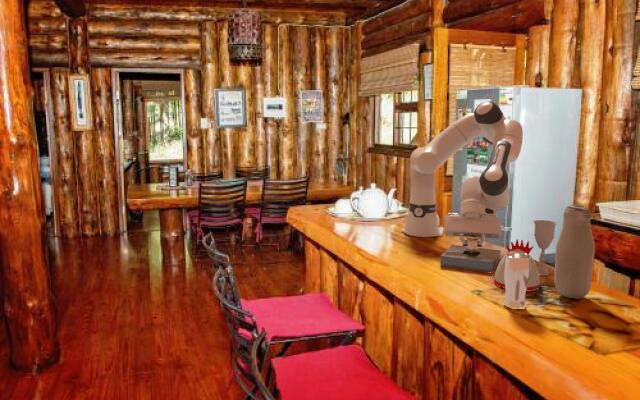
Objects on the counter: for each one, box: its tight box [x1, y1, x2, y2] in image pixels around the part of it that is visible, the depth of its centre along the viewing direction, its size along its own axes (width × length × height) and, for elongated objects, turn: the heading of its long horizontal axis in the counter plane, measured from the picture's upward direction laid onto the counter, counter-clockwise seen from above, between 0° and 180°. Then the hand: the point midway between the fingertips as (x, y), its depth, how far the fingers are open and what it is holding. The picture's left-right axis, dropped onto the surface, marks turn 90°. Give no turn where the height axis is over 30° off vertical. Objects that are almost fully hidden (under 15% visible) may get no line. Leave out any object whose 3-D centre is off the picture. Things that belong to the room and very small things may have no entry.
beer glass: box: [503, 252, 531, 308], centre depth 150 cm, size 7×7×15 cm
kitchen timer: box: [493, 238, 541, 290], centre depth 169 cm, size 14×14×15 cm
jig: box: [439, 244, 502, 274], centre depth 194 cm, size 18×18×4 cm
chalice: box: [533, 219, 558, 276], centre depth 181 cm, size 7×7×18 cm
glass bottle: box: [553, 204, 596, 300], centre depth 157 cm, size 10×10×28 cm
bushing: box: [465, 235, 481, 256], centre depth 193 cm, size 5×5×8 cm
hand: (472, 245), depth 193 cm, fingers closed on bushing, 4 cm apart
